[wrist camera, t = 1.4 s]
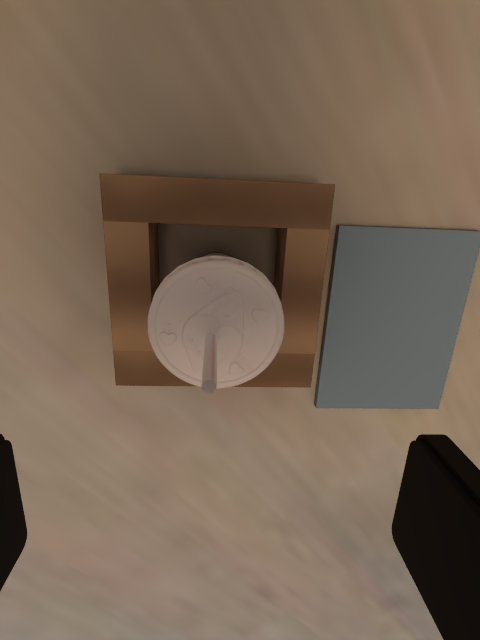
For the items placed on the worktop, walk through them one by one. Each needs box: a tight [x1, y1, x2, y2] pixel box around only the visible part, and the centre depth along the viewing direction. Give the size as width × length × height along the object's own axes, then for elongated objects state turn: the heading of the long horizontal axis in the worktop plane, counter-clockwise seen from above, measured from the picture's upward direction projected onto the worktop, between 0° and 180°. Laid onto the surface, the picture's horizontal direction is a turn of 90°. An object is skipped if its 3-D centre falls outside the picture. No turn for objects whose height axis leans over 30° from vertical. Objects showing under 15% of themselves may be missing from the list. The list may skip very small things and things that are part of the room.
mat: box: [314, 225, 480, 409], centre depth 28 cm, size 14×10×1 cm
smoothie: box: [148, 253, 284, 393], centre depth 20 cm, size 6×6×14 cm
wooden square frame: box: [100, 174, 335, 387], centre depth 25 cm, size 13×13×4 cm
